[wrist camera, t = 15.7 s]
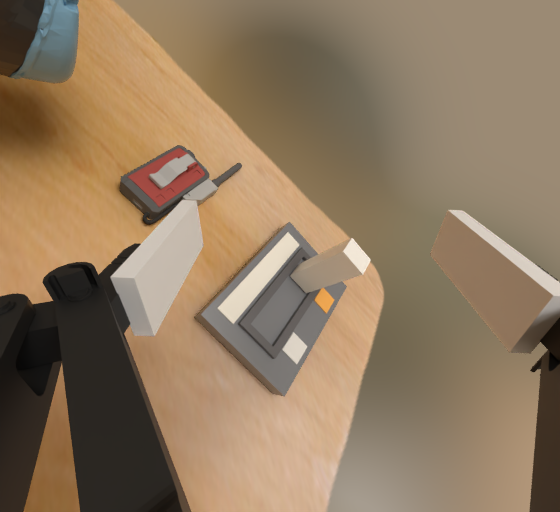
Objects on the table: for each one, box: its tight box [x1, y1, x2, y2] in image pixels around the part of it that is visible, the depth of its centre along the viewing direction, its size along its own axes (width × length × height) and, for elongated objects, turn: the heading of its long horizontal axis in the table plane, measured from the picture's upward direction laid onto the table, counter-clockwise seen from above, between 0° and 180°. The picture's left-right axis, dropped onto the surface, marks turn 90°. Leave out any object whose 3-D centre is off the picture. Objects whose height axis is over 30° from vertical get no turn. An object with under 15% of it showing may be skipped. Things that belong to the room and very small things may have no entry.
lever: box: [290, 238, 371, 293], centre depth 39 cm, size 4×3×12 cm
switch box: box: [195, 222, 347, 396], centre depth 42 cm, size 16×22×4 cm
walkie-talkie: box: [120, 145, 242, 224], centre depth 40 cm, size 9×4×20 cm
